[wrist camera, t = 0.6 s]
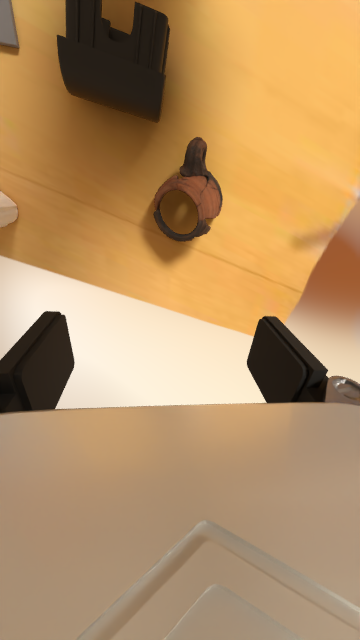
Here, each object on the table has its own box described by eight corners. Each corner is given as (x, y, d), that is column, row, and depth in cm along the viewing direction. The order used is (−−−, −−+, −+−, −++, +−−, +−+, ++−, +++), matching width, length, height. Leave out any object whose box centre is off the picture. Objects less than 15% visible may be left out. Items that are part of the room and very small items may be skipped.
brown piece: (222, 230, 37) (208, 252, 31) (169, 221, 39) (147, 241, 34) (236, 135, 28) (220, 143, 23) (167, 131, 31) (138, 138, 25)
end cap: (77, 104, 27) (56, 80, 21) (78, 17, 24) (54, -39, 18) (158, 130, 29) (160, 114, 23) (169, 53, 26) (174, 13, 20)
